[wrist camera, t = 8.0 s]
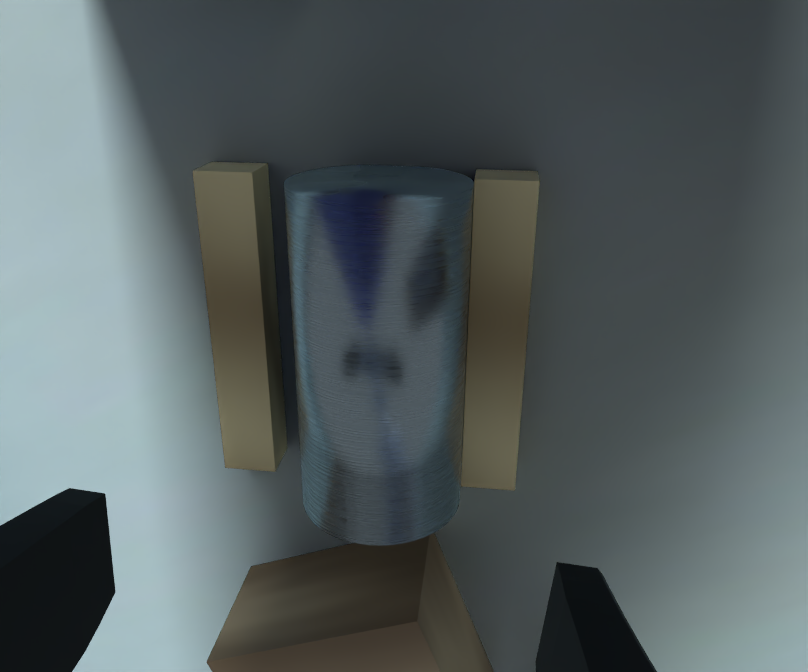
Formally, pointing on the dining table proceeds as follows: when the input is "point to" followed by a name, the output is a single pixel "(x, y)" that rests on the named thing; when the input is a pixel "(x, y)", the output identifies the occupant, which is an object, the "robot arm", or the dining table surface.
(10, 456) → the dining table surface
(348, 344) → the roller
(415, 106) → the dining table surface
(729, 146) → the dining table surface
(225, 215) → the roller rack
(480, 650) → the slab
